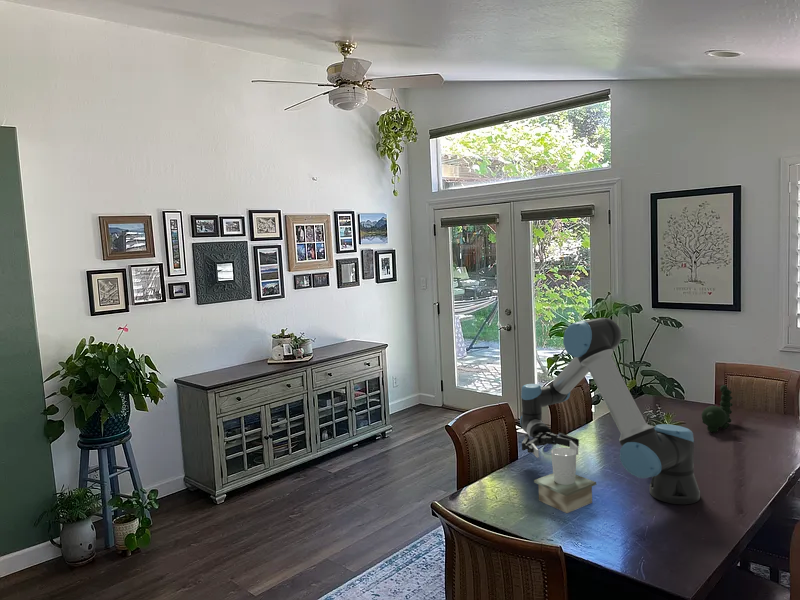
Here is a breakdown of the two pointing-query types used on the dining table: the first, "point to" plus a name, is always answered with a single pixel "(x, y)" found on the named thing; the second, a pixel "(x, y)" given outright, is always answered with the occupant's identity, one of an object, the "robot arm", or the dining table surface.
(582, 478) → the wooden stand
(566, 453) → the white cup
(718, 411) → the green lumpy piece
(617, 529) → the dining table surface
